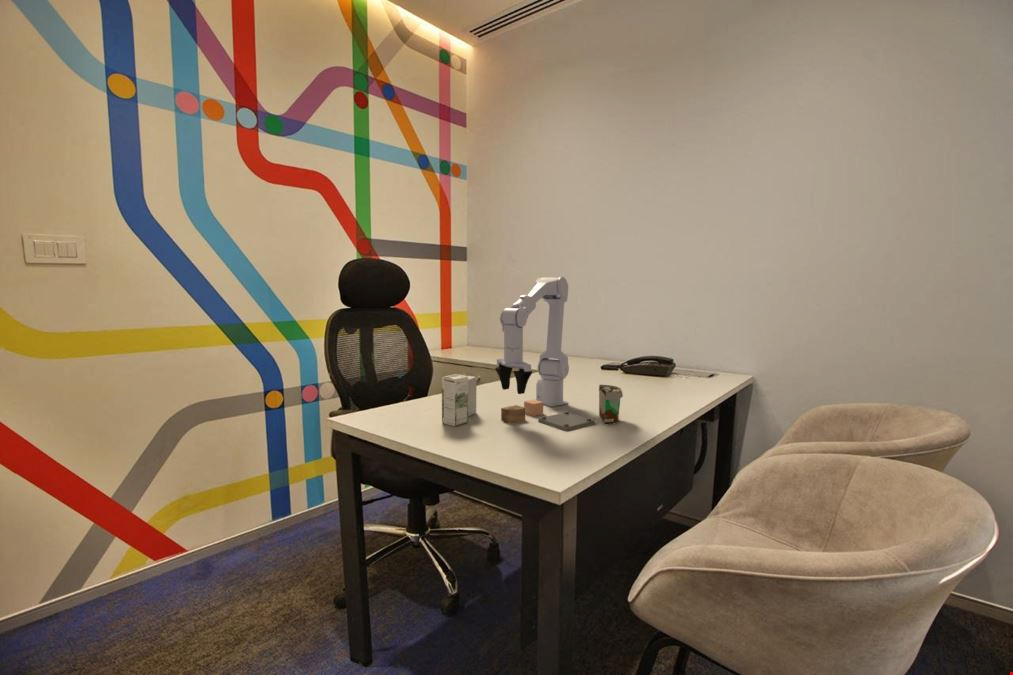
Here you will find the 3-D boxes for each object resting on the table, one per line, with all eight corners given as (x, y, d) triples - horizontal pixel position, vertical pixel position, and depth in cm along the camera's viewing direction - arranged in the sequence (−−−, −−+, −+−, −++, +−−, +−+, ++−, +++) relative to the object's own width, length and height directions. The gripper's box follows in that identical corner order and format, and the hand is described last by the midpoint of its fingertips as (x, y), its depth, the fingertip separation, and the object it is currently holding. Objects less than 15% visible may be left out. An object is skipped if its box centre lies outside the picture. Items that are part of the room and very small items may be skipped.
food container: (626, 426, 144) (627, 393, 143) (605, 426, 144) (606, 392, 143) (617, 414, 156) (618, 384, 155) (598, 414, 156) (599, 384, 155)
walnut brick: (501, 420, 150) (501, 408, 150) (516, 417, 154) (516, 405, 153) (510, 423, 147) (510, 411, 146) (525, 420, 150) (525, 407, 150)
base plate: (538, 421, 148) (538, 416, 148) (566, 415, 156) (566, 410, 156) (566, 431, 139) (566, 425, 139) (594, 423, 146) (594, 418, 146)
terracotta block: (524, 413, 158) (524, 401, 158) (534, 411, 161) (534, 399, 160) (532, 416, 155) (533, 404, 154) (543, 414, 157) (543, 402, 157)
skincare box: (465, 411, 160) (464, 375, 159) (477, 413, 158) (477, 376, 157) (455, 416, 155) (455, 378, 153) (468, 417, 153) (468, 379, 151)
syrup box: (455, 419, 151) (454, 373, 149) (468, 422, 147) (468, 375, 146) (441, 423, 146) (440, 376, 145) (455, 427, 143) (454, 378, 141)
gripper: (488, 346, 151) (488, 388, 152) (518, 351, 140) (517, 397, 141) (506, 344, 155) (506, 386, 157) (536, 349, 144) (536, 394, 145)
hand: (513, 391), depth 149 cm, fingers open, 7 cm apart
